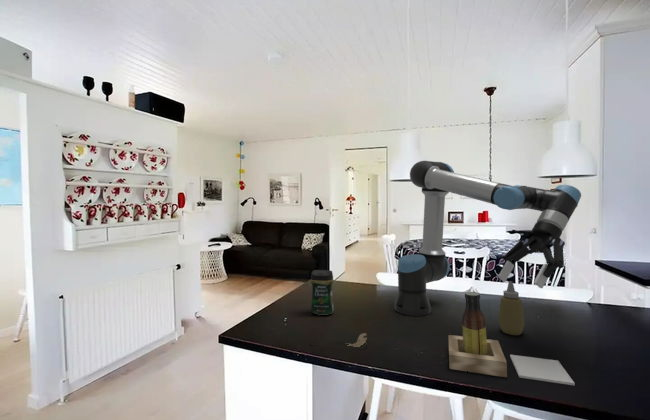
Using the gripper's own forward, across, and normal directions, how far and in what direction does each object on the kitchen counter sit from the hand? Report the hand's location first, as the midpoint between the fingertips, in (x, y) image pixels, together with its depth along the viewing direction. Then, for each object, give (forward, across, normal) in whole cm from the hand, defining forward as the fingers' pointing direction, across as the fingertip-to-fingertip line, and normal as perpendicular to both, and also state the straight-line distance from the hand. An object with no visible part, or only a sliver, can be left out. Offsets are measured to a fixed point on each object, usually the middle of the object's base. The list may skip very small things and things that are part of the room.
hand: (518, 282), depth 97 cm
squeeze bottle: (+10, +14, -20) cm, 27 cm away
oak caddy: (+27, +1, -1) cm, 27 cm away
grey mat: (+19, -8, -11) cm, 24 cm away
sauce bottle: (+28, +1, -1) cm, 28 cm away
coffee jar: (+45, +53, +28) cm, 75 cm away
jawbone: (+48, +24, +27) cm, 60 cm away
